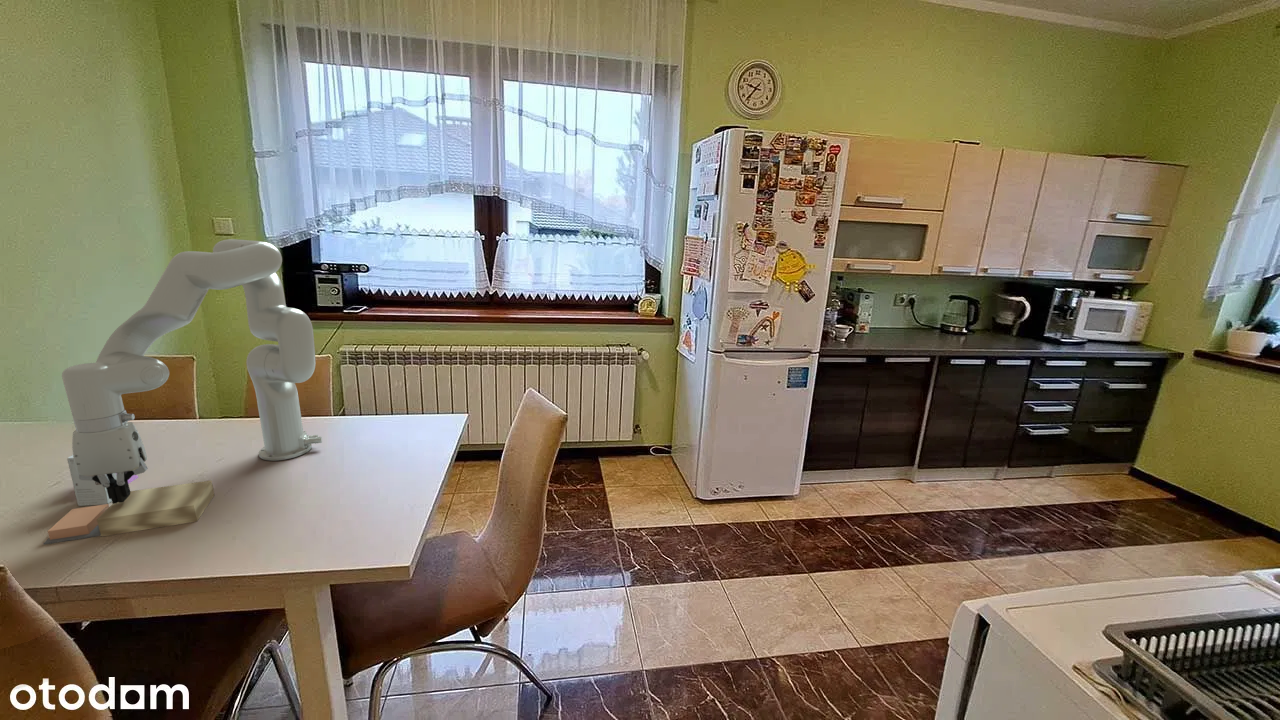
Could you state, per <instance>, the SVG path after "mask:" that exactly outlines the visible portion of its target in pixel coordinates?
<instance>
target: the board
mask: <svg viewBox="0 0 1280 720" xmlns="http://www.w3.org/2000/svg"><path fill="white" fill-rule="evenodd" d="M214 497H215V491H214V485H213V481H212V480H205V481H196V482H189V483H183V484H175V485H168V486H167V485H166V486H159V487H151V488H145V489H139V490H138V489H137V490H130V495H129V497H128V498H127V499H126V500H125V501H124V502H122V503H119V502H118V503H115V504H113V503H112V504H111V505H109V508H108V509H107V510H106V511H105V512H104V513H103V514H102V515H101V516H100V517H99V518H98V519H97V522H98V526H99V530H100V533H101V537H107V536H112V535H113V536H114V535H119V534H120V535H121V534H125V533H132V532H139V531H144V530H152V529H157V528H163V527H164V528H165V527H169V526H176V525H183V524H189V523H195V522H198V521H199V519H200V518H201V517H202V515H203V513H204V512H205V511H206V509H207V507H208V506H209V504H210V503H211V501H212V500H213V498H214Z"/></svg>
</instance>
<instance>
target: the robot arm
mask: <svg viewBox="0 0 1280 720" xmlns="http://www.w3.org/2000/svg"><path fill="white" fill-rule="evenodd" d="M282 262H283V257H282V254H281V252H280V250H279V249H278V248H277V247H276V246H274V245H273V244H272V243H269V242H266V241H263V240H262V241H260V240H251V239H250V240H248V239H236V238H229V239H223V240H220V241H218V242H216V243H215V244H214V245H213V248H212V252H209V251H208V252H207V251H195V250H194V251H193V250H192V251H191V250H190V251H188V250H185V251H181V252H179V253H177V254H175V255H174V256H173V257H172V258H171V259H170V261H169V262H168V264H167V266H166V268H165V270H164V271H163V272H162V275H161V277H160V278H159V280H158V281H157V284H156V285H155V287H154V289H153V291H152V292H151V294H150V295H149V297H148V299H147V300H146V302H145V303H144V304H143V306H142V308H140V309H139V310H138V311H136V312H134V313H133V314H132V315H131V316H129V318H128V319H126V320H125V321H124V322H123V323H121V324H120V325H119V326H118V327H117V328H116V329H115V330H114V331H113V332H112V333H111V334H110V336H109V338H108V339H107V340H106V343H105V344H104V345H103V347H102V349H101V350H100V352H99V354H98V356H97V359H96V360H95V362H88V363H80V364H76V365H72V366H71V365H70V366H68V367H67V368H65V369H64V370H63V371H62V373H61V377H62V381H63V385H64V390H65V392H66V393H65V395H66V397H67V401H68V404H69V408H70V412H71V416H72V421H73V423H74V427H75V430H73V432H72V442H71V443H72V444H71V445H72V448H71V449H72V455H73V458H74V463H75V467H76V471H77V473H78V474H79V479H80V480H90V481H92V480H94V481H96V482H98V483H100V484H102V486H103V487H105V488H106V489H107V492H108V496H109V499H111V500H112V502H111V503H112V504H115V503H118V502H119V503H122V502H124V501H125V500H126V499H127V498H128V497H129V495H130V491H131V489H130V488H131V487H130V485H129V484H130V483H129V484H128V480H129V479H130V478H131V477H132V476H133V475H137V476H138V475H140V474H144V473H145V472H146V471H147V470H148V466H147V465H146V463H145V462H146V461H147V460H148V456H147V451H146V448H145V446H144V443H143V440H142V438H141V435H140V432H139V430H138V429H137V427H136V426H135V424H134V422H132V421H133V420H135V414H134V413H127V410H126V409H125V406H124V403H123V398H122V395H124V394H131V393H132V394H133V393H142V392H148V391H152V390H155V389H158V388H160V387H162V386H163V385H164V384H165V383H166V382H167V381H168V379H169V376H170V370H169V368H168V366H167V365H166V364H165V363H164V362H163V361H162V360H160V359H157V358H156V357H155V358H154V357H150V356H146V355H145V354H146V353H147V351H148V349H149V348H150V347H151V346H152V345H153V344H154V342H156V341H157V340H158V339H160V338H161V337H162V336H164V335H166V334H168V333H171V332H173V331H176V330H178V329H180V328H183V327H186V326H187V325H189V324H190V323H191V322H192V321H193V319H194V318H195V316H196V314H197V312H198V310H199V308H200V306H201V305H202V302H203V301H204V299H205V297H206V295H207V294H208V292H209V290H218V291H219V290H228V289H232V288H237V287H240V286H242V288H243V292H244V296H245V304H246V312H247V320H248V321H247V324H248V328H249V331H250V333H251V334H252V335H253V336H254V337H255V338H257V339H260V340H265V341H270V342H278V344H270V343H267V344H266V343H265V344H261V345H257V346H255V347H254V348H252V349H251V350H250V351H249V353H248V354H247V357H246V361H245V362H246V368H247V372H248V375H249V377H250V379H251V381H252V385H253V388H254V391H255V396H256V402H257V403H256V404H257V409H258V415H259V421H260V428H261V433H262V439H263V445H264V446H263V447H262V448H261V449H260V450H259V451H258V456H259V458H260V459H262V460H265V461H270V462H271V461H284V460H290V459H294V458H297V457H299V456H302V455H304V454H306V453H309V451H311V449H312V444H315V445H317V444H322V443H323V436H322V435H320V436H319V434H313V435H312V434H311V435H309V434H307V431H306V430H304V428H303V420H302V413H301V407H300V400H299V394H298V388H297V385H296V384H300V383H304V382H306V381H308V380H309V379H310V378H311V377H312V376H313V374H314V372H315V369H316V348H315V338H314V337H315V336H314V326H313V324H312V320H311V319H310V318H309V316H308V315H307V313H305V312H304V311H302V310H301V309H298V308H295V307H288V306H287V304H286V303H287V302H286V297H285V293H284V287H283V283H282V280H281V278H280V277H279V275H278V274H277V272H278V271H279V270H280V268H281V267H282V265H283V264H282ZM113 473H116V474H117V480H116V478H115V476H114V474H113Z"/></svg>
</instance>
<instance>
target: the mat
mask: <svg viewBox="0 0 1280 720" xmlns="http://www.w3.org/2000/svg"><path fill="white" fill-rule="evenodd" d="M99 536H101V533H100V530H99V526H98V525H97V526H96V527H95V528H94V529H93V530H92V531H91V532H90V533H89V534H84V535H78V536H71V537H65V538H59V539H52V540H50V538H49V537H48V538H47V539H46V540H45V541H44V542H43V545H48V544H49V545H51V544H56V543H61V542H68V541H73V540H74V541H75V540H82V539H87V538H93V537H94V538H95V537H99Z"/></svg>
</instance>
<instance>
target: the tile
mask: <svg viewBox="0 0 1280 720" xmlns="http://www.w3.org/2000/svg"><path fill="white" fill-rule="evenodd" d="M109 504H110V503H108V504H104V505H89V506H85V507H77V508H72V509H71V510H69V512H67V513H66V514H65V515H64V516H63V517H62V518H61V519H59V520H58V521H57V522H56V523H54V525H53V526H52V527H51V528H49V529H48V530H47V536H48V538H50V540H52V539H59V538H65V537H71V536H78V535H84V534H89V533H90V532H91V531H92V530H93V529H94V528H95V527H96V526H97V525H98V522H97V519H98V518H99V517H100V516H101V515H102V514H103V513H104V512H105V511H106V510H107V509H108V508H109V507H110V505H109Z"/></svg>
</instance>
